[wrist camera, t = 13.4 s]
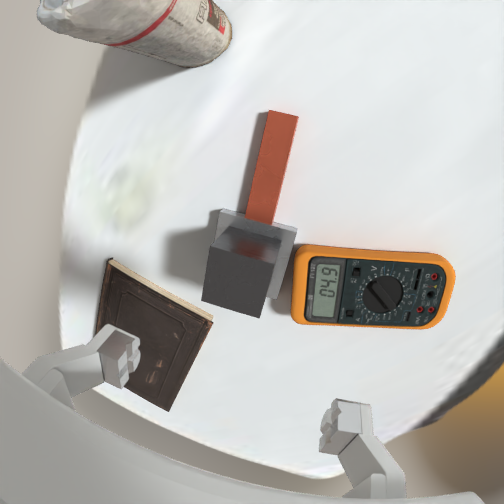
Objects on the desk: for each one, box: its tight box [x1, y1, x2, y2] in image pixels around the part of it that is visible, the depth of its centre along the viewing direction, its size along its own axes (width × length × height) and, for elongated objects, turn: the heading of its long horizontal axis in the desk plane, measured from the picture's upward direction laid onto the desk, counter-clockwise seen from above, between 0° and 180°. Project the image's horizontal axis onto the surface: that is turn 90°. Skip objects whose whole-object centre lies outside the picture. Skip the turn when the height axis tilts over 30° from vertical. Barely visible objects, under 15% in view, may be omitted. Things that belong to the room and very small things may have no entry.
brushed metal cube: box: [201, 226, 282, 318], centre depth 29 cm, size 6×6×6 cm
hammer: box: [214, 110, 299, 300], centre depth 29 cm, size 19×8×5 cm, turn 167°
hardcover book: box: [95, 258, 213, 412], centre depth 41 cm, size 16×23×2 cm
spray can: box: [37, 0, 232, 68], centre depth 16 cm, size 8×8×20 cm
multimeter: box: [291, 244, 456, 329], centre depth 30 cm, size 9×18×3 cm, turn 90°
